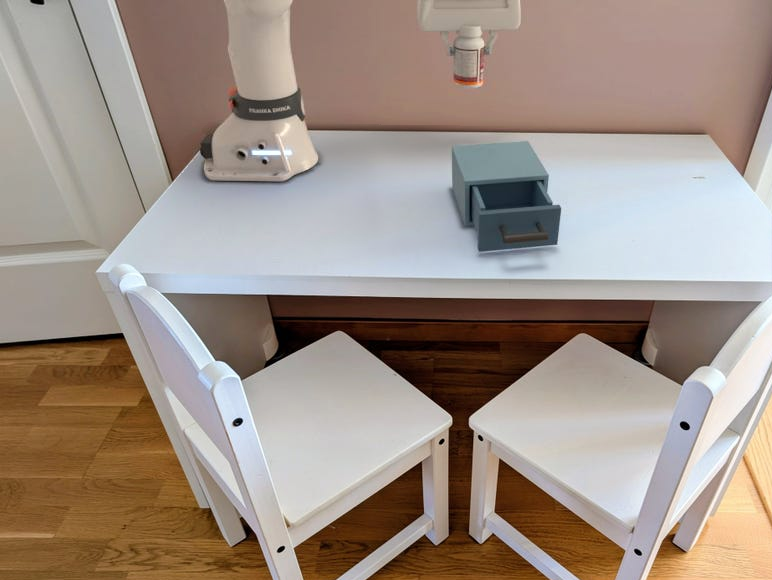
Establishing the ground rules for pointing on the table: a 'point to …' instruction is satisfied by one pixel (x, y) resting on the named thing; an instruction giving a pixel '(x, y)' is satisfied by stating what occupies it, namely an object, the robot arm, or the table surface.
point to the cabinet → (492, 168)
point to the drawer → (513, 215)
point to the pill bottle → (469, 57)
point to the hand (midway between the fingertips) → (468, 54)
